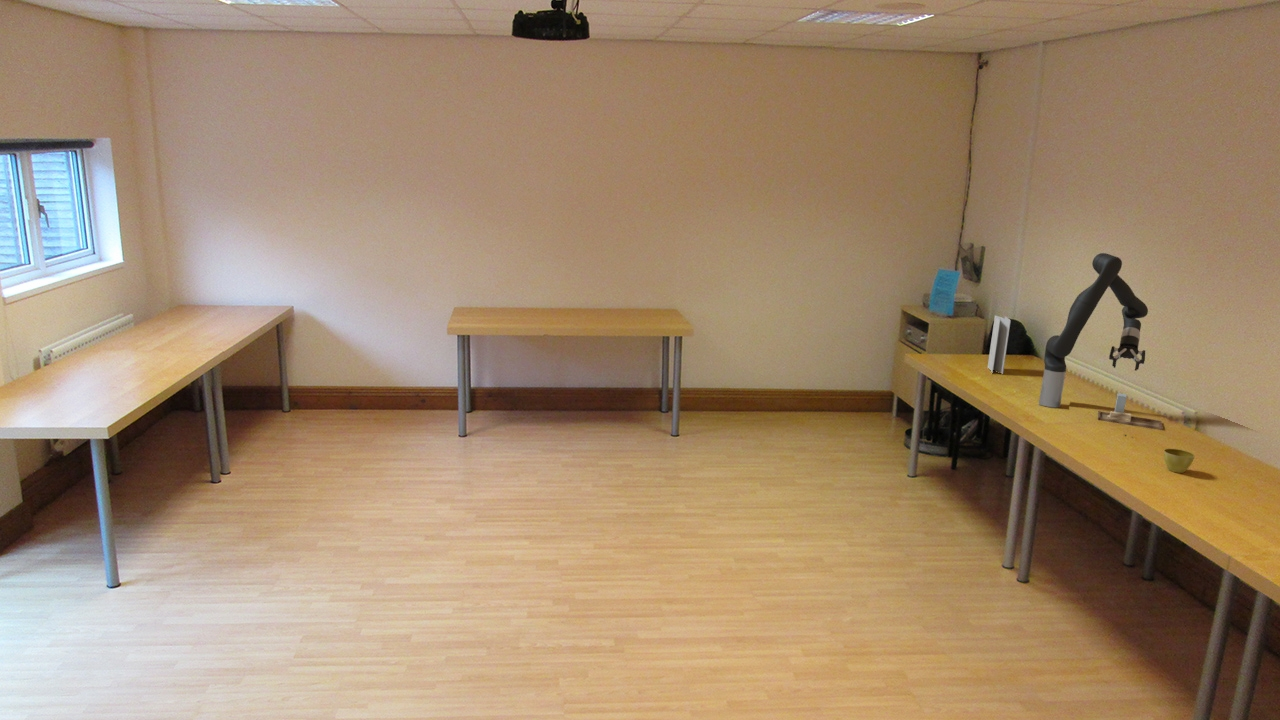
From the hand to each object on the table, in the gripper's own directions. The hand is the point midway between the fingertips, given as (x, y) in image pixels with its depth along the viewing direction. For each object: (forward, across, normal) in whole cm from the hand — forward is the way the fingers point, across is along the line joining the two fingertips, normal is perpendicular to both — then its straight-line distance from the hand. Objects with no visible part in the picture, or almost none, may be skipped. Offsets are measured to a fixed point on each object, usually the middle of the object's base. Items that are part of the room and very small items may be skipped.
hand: (1125, 368), depth 400 cm
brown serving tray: (+25, +5, +6) cm, 27 cm away
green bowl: (+68, +22, -36) cm, 80 cm away
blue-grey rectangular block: (+23, 0, +7) cm, 24 cm away
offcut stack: (+27, +1, +2) cm, 27 cm away
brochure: (-24, -61, +57) cm, 87 cm away
